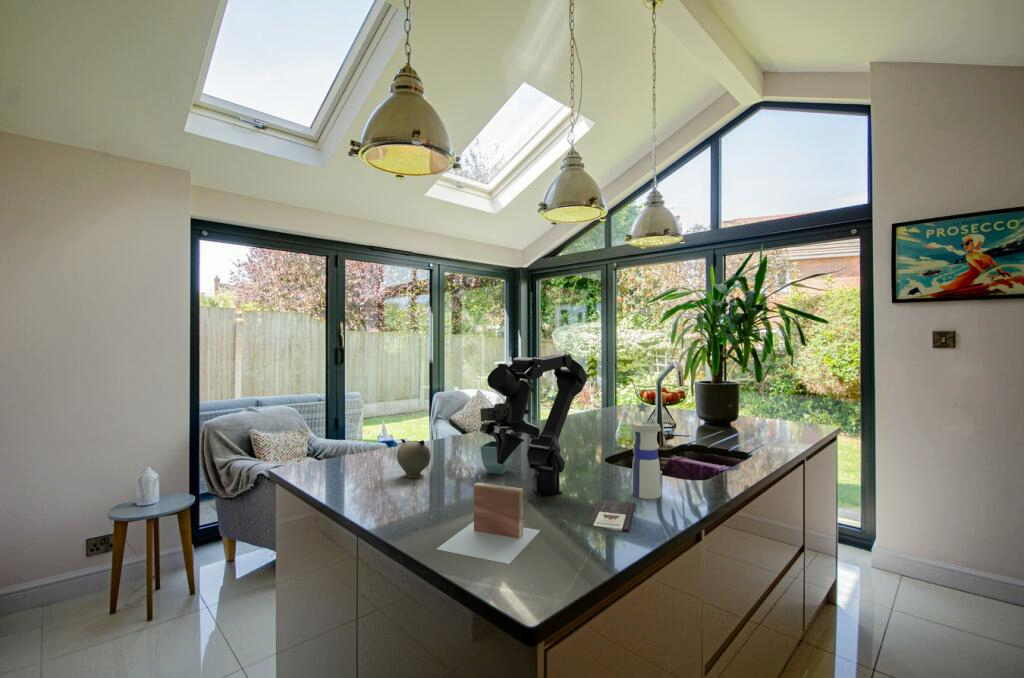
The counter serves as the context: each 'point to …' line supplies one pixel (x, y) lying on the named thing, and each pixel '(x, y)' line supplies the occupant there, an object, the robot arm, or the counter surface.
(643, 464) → the water bottle
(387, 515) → the counter surface
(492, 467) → the flower pot
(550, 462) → the robot arm
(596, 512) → the chocolate bar
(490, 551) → the light gray mat
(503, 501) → the birch tile
